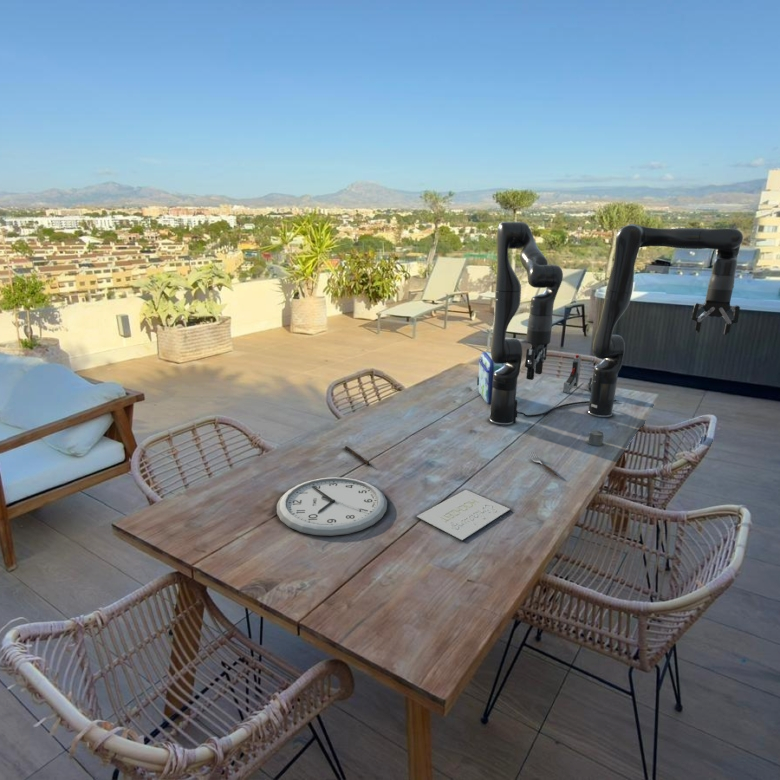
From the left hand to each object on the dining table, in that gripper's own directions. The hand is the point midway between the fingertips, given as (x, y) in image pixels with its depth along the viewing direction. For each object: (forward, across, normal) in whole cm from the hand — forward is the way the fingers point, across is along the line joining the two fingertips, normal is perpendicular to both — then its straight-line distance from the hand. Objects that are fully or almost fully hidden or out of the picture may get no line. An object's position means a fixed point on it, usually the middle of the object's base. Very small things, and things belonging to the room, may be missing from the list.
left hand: (534, 376), depth 174 cm
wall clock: (+26, -68, +31) cm, 79 cm away
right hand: (-12, +53, -46) cm, 72 cm away
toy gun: (+27, +81, +6) cm, 86 cm away
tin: (+26, +20, -19) cm, 38 cm away
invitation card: (+26, -52, -1) cm, 58 cm away
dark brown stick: (+26, -39, +44) cm, 65 cm away
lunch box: (+27, +44, +32) cm, 61 cm away
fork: (+26, -11, -10) cm, 30 cm away
